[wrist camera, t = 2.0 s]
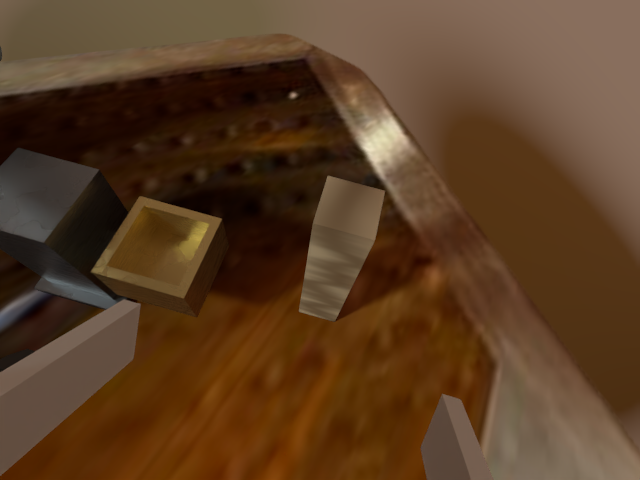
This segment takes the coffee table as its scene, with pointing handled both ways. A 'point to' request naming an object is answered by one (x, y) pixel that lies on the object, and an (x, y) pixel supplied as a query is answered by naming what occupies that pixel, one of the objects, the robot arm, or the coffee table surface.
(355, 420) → the coffee table surface
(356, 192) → the block
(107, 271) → the bracket
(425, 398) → the coffee table surface
